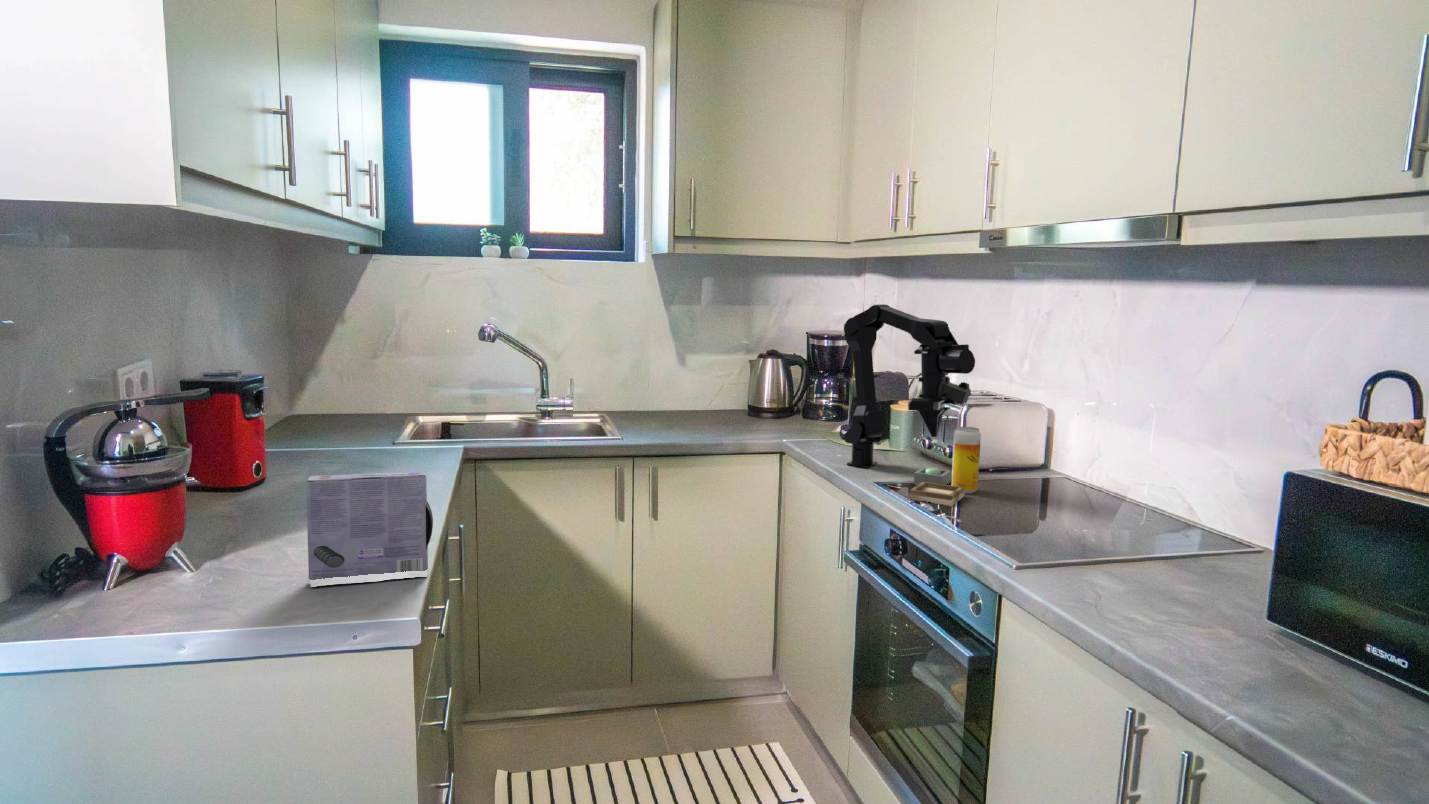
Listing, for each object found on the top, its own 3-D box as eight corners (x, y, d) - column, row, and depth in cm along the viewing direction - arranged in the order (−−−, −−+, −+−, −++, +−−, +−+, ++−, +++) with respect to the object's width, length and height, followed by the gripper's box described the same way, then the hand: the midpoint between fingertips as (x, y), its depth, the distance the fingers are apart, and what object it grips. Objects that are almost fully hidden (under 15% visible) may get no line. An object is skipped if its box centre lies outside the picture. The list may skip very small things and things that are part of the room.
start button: (927, 476, 214) (928, 467, 214) (942, 478, 212) (942, 469, 212) (923, 479, 211) (923, 470, 211) (937, 481, 209) (938, 471, 209)
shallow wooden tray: (922, 490, 205) (922, 481, 205) (964, 496, 200) (964, 487, 200) (908, 499, 197) (908, 490, 196) (951, 505, 191) (952, 496, 191)
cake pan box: (434, 568, 148) (430, 467, 146) (435, 577, 144) (431, 474, 141) (312, 579, 142) (305, 474, 140) (308, 590, 137) (301, 481, 135)
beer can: (978, 494, 202) (982, 431, 200) (951, 493, 203) (955, 430, 201) (976, 488, 208) (979, 426, 205) (950, 486, 209) (953, 425, 207)
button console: (922, 479, 217) (923, 467, 216) (950, 482, 213) (951, 470, 212) (913, 484, 211) (914, 472, 210) (942, 488, 207) (942, 476, 207)
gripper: (953, 375, 197) (954, 443, 198) (978, 370, 212) (979, 433, 213) (906, 375, 203) (907, 441, 204) (934, 370, 218) (935, 431, 220)
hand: (934, 436), depth 210 cm, fingers closed
